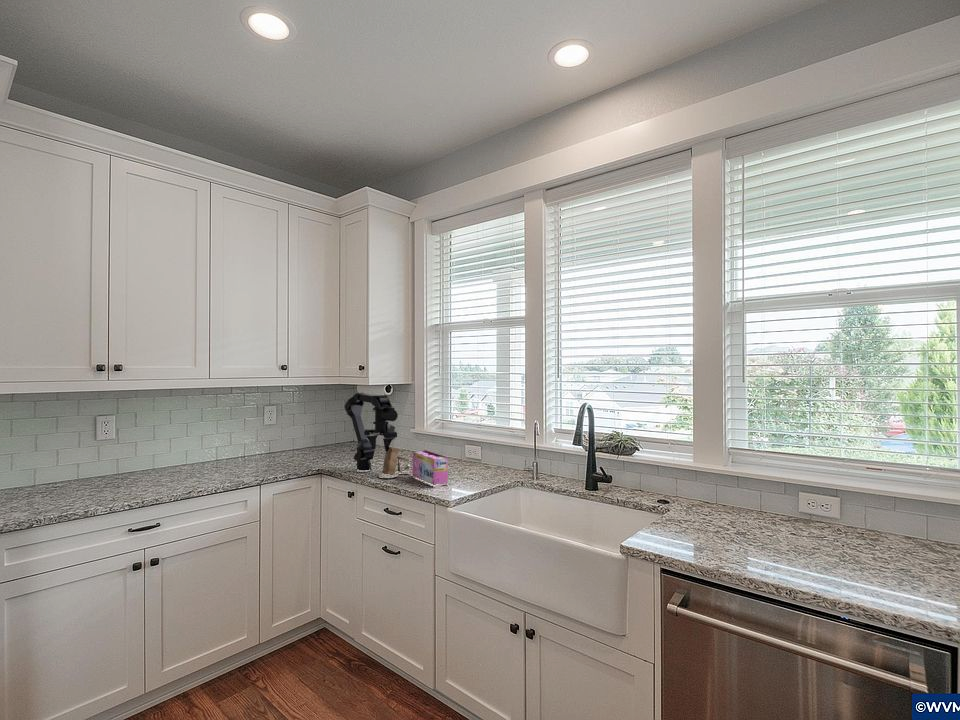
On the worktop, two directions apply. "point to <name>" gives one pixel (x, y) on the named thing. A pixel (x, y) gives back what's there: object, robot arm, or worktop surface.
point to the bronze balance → (406, 464)
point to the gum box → (430, 467)
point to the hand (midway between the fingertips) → (380, 450)
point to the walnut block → (390, 461)
